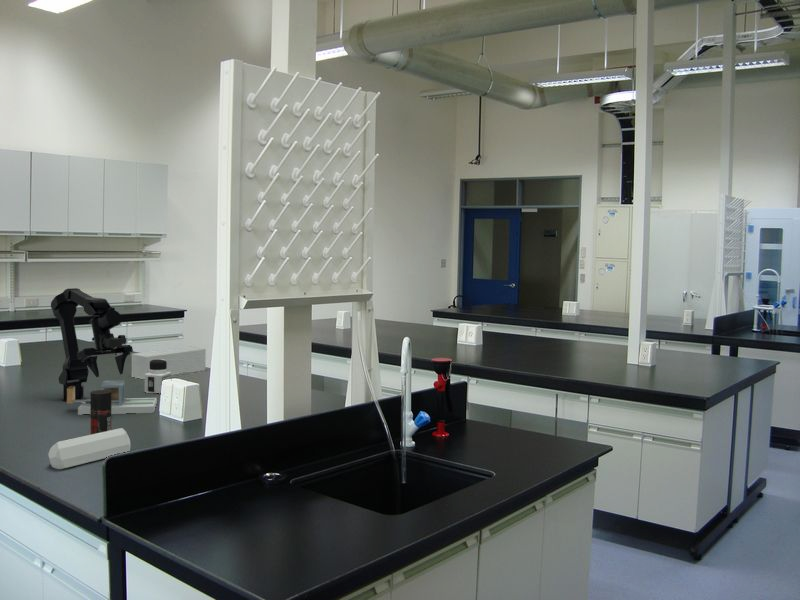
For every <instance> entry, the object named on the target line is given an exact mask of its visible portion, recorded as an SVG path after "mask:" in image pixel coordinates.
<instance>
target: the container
mask: <svg viewBox="0 0 800 600" xmlns="http://www.w3.org/2000/svg"><path fill="white" fill-rule="evenodd" d="M166 371H167V361H165V360H163V359H155V360H152V361H150V372H149V373H146V374H145V380H144V393H145V392H146V393H145V394H153V393H159V394H158V395H161V394H160V392H161V385H162V381H163V380H165V379H171V380H172V377H171V372H166Z"/></svg>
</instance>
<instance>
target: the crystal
mask: <svg viewBox="0 0 800 600" xmlns="http://www.w3.org/2000/svg"><path fill="white" fill-rule="evenodd" d="M127 451H131V439H130V437H129V435H128V433H127V431H126V430H125V429H124V428H123V427H120V428H116V429H115V428H114V429H111V430H110V431H106V432H101V433H96V434H92V435H91V434H87V435H84V436H83V435H82V436H78V437H75V438H70V439H66V440H65V439H64V440H60V441H57V442H56V443H54V444H53V445H52V446H51V447H50V449H49V451H48V455H47V456H48V458H49V462H50V466H51V468H54V469H56V470H62V469H68V468H70V467H74V466H79V465H84V464H86V463H90V462H95V461H99V460H103V459H107V458H109V457H108V456H110V455H114V454H117V453H123V452H127ZM127 453H128V452H127ZM123 454H124V453H123ZM106 457H107V458H106Z"/></svg>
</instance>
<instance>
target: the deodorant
mask: <svg viewBox="0 0 800 600" xmlns="http://www.w3.org/2000/svg"><path fill="white" fill-rule="evenodd" d="M89 399H90V415H89V416H90V435H92V434H96V433H101V432H106V431H110V430H112V414H111V391H109V390H101V389H100V390H99V389H96V390H92V391H91V392H90V398H89Z"/></svg>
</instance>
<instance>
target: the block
mask: <svg viewBox="0 0 800 600" xmlns="http://www.w3.org/2000/svg"><path fill="white" fill-rule="evenodd" d="M105 390H109V391H111V401H115V400H119V388H105Z"/></svg>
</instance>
